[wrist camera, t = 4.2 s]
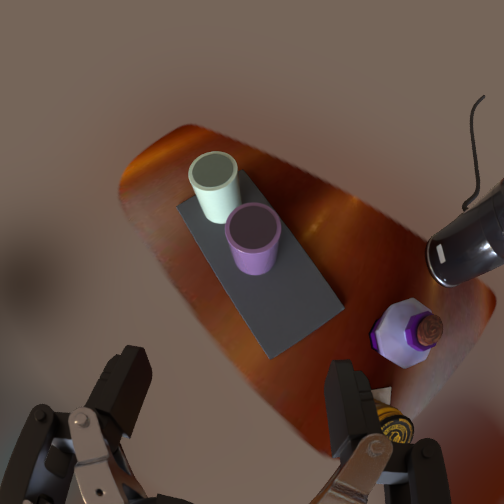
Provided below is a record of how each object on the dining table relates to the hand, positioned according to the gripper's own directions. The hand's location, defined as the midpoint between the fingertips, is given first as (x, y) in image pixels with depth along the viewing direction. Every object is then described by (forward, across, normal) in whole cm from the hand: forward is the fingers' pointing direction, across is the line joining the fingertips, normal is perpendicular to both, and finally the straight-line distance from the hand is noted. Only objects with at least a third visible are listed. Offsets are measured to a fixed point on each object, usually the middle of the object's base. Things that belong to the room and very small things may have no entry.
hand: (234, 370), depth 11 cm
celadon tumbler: (+31, +6, +2) cm, 32 cm away
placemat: (+26, 0, +8) cm, 28 cm away
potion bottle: (+19, -18, +16) cm, 31 cm away
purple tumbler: (+26, 0, +8) cm, 27 cm away
